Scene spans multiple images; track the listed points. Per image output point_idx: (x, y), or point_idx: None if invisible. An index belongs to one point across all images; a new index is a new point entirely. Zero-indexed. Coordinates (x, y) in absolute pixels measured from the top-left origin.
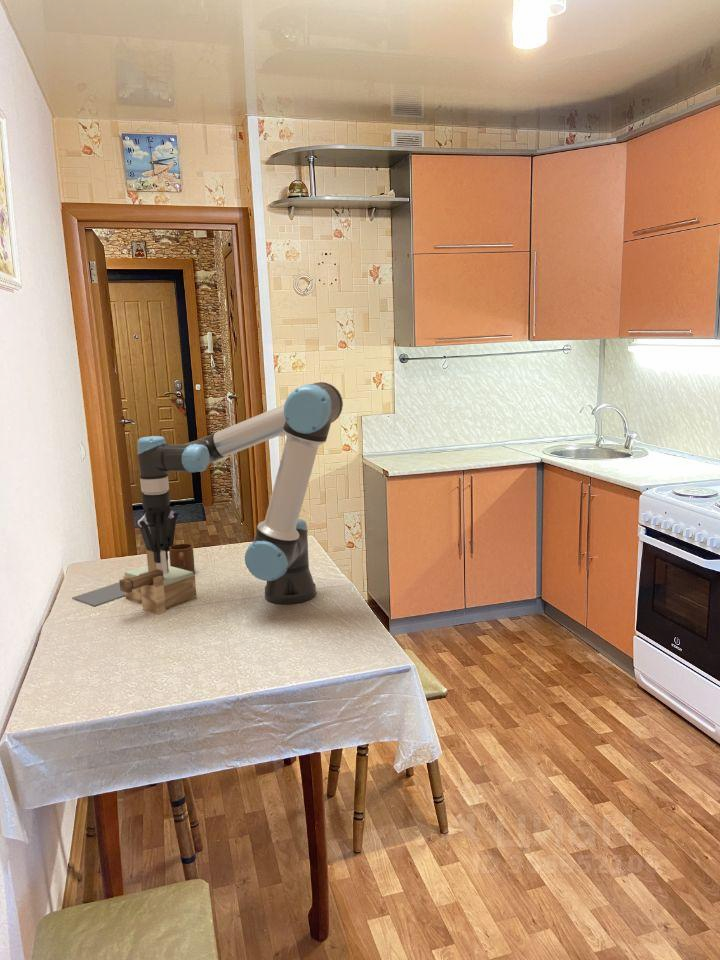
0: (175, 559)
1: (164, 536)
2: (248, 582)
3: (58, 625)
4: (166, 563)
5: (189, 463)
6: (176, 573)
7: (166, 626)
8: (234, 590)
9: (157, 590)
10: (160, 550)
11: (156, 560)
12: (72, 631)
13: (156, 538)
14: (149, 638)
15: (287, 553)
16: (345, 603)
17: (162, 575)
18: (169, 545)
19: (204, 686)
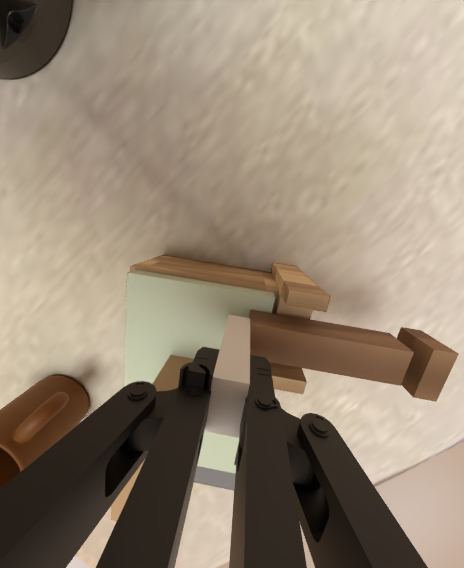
0: (50, 434)
1: (171, 506)
2: (3, 204)
3: (429, 427)
4: (224, 333)
5: None
6: (170, 318)
7: (359, 182)
8: (67, 197)
9: (308, 281)
10: (251, 396)
11: (269, 372)
12: (454, 378)
13: (298, 538)
14: (452, 160)
15: None
16: None
17: (254, 316)
18: (156, 396)
19: None
